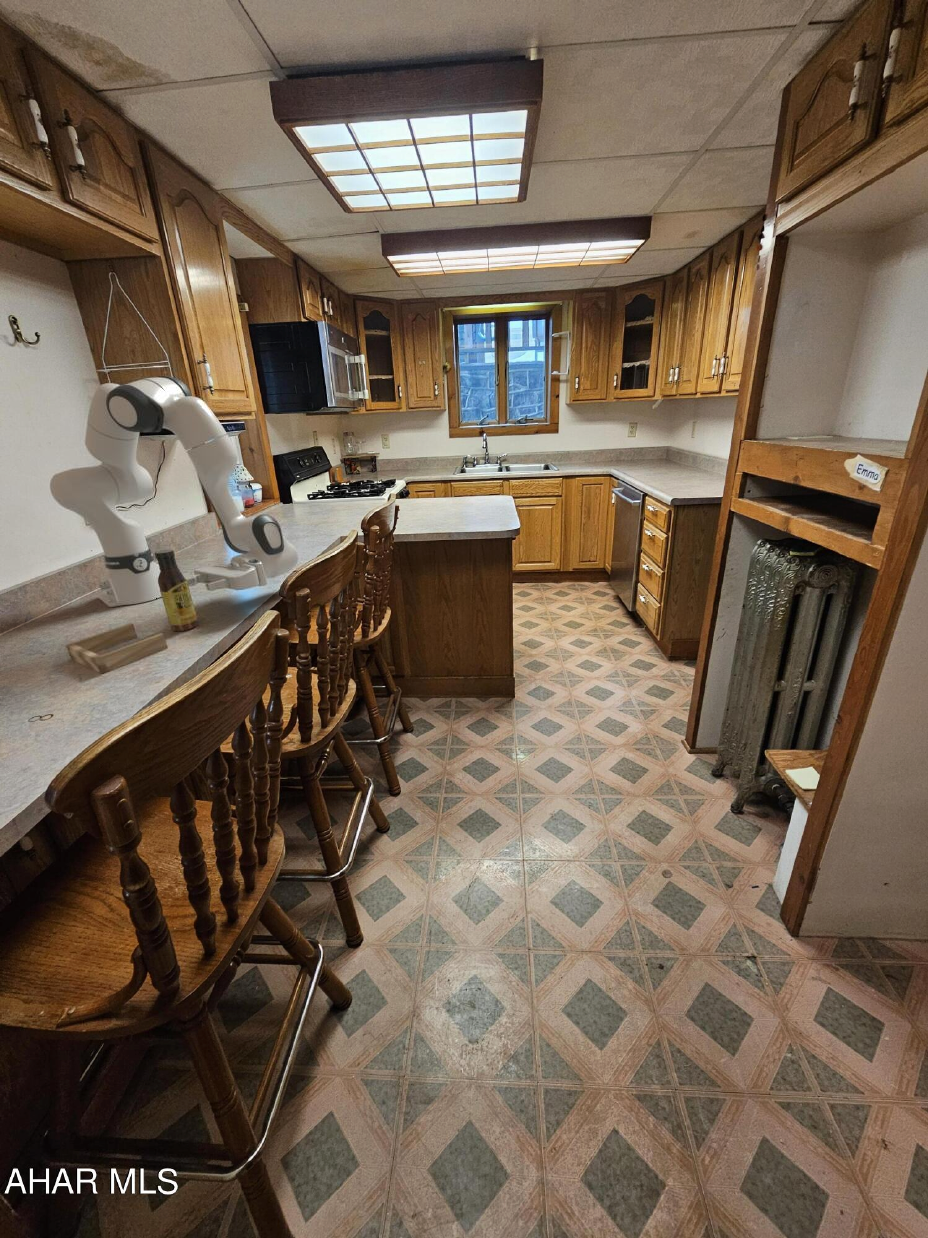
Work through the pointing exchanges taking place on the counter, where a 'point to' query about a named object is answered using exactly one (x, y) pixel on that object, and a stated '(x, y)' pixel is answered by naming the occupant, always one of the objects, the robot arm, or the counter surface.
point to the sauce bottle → (175, 593)
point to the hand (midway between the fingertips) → (197, 585)
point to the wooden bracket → (117, 658)
